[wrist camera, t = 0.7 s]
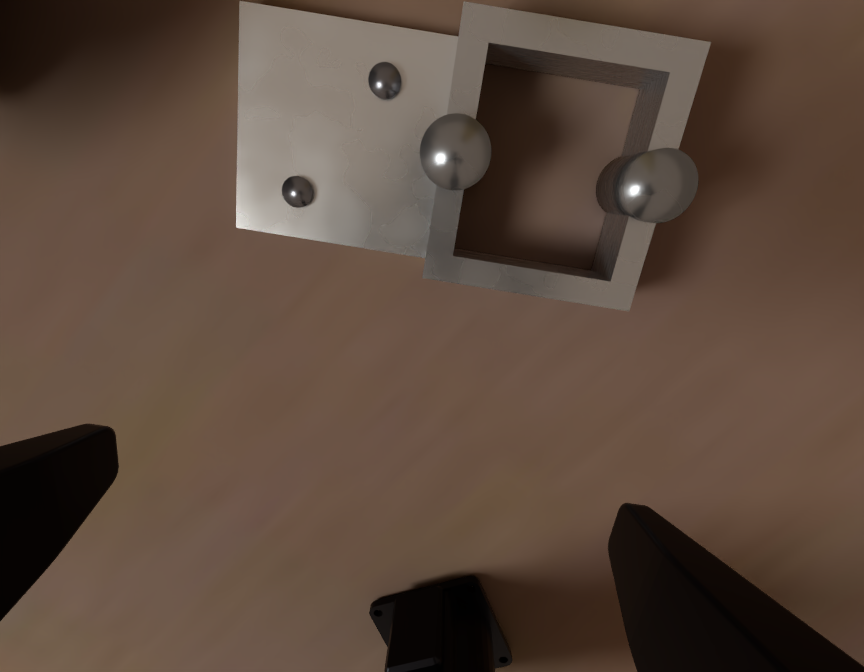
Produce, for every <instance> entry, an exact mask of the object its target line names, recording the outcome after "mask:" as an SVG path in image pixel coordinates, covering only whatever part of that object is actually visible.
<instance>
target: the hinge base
mask: <svg viewBox="0 0 864 672" xmlns="http://www.w3.org/2000/svg"><path fill="white" fill-rule="evenodd" d="M710 44H711V42H707V41H701V40H695V39H689V38H683V37H677V36H671V35H665V34H659V33H653V32H647V31H641V30H634V29H628V28H622V27H616V26H610V25H604V24H598V23H592V22H586V21H580V20H574V19H567V18H561V17H555V16H549V15H543V14H537V13H531V12H525V11H519V10H513V9H507V8H501V7H494V6H488V5H482V4H476V3H470V2H464V3H463V10H462V16H461V23H460V30H459V37H458V36H452V35H445V34H439V33H433V32H427V31H421V30H415V29H409V28H403V27H397V26H391V25H385V24H378V23H372V22H366V21H360V20H354V19H348V18H342V17H336V16H330V15H324V14H317V13H311V12H305V11H299V10H293V9H287V8H281V7H275V6H269V5H263V4H257V3H250V2H244V1H240V3H239V70H238V137H237V204H236V228H243V229H249V230H255V231H261V232H267V233H273V234H280V235H286V236H292V237H298V238H304V239H310V240H317V241H323V242H329V243H335V244H341V245H347V246H353V247H360V248H366V249H372V250H378V251H384V252H390V253H397V254H403V255H409V256H415V257H421V258H425V264H424V271H423V278H426V279H433V280H439V281H445V282H451V283H457V284H463V285H470V286H476V287H482V288H488V289H494V290H500V291H507V292H513V293H519V294H525V295H531V296H537V297H544V298H550V299H556V300H562V301H568V302H574V303H581V304H587V305H593V306H599V307H605V308H611V309H618V310H624V311H629V310H630V307H631V303H632V300H633V297H634V294H635V290H636V287H637V284H638V280H639V277H640V274H641V271H642V267H643V264H644V261H645V257H646V254H647V251H648V248H649V244H650V241H651V238H652V235H653V231H654V228H655V225H656V223H662V222H666V221H670V220H672V219H674V218H676V217H677V216H679V215H680V214H682V213H683V212H684V211H685V210H686V209H687V208H688V207H689V205H690V204H691V202H692V201H693V199H694V197H695V194H696V192H697V188H698V172H697V168H696V166H695V164H694V162H693V160H692V159H691V158H690V157H689V156H688V155H687V154H686V153H684V152H682V151H680V150H678V149H679V146H680V143H681V139H682V136H683V133H684V130H685V126H686V123H687V120H688V116H689V113H690V110H691V107H692V103H693V100H694V97H695V93H696V90H697V87H698V84H699V80H700V77H701V74H702V71H703V67H704V64H705V61H706V57H707V54H708V51H709V48H710ZM485 64H491V65H497V66H504V67H510V68H516V69H522V70H528V71H534V72H540V73H546V74H552V75H559V76H565V77H571V78H577V79H583V80H589V81H595V82H601V83H607V84H613V85H620V86H626V87H632V88H638V89H640V90H639V94H638V98H637V101H636V105H635V109H634V113H633V116H632V120H631V124H630V128H629V131H628V135H627V139H626V142H625V146H624V150H623V154H622V157H619V158H616V159H614V160H613V161H611V162H610V163H609V164H608V165H607V166H606V167H605V168H604V169H603V170H602V172H601V174H600V176H599V178H598V181H597V185H596V196H597V200H598V203H599V205H600V206H601V208H602V209H603V210H604V211H605V212H606V217H605V221H604V224H603V228H602V232H601V235H600V239H599V243H598V247H597V250H596V254H595V258H594V261H593V265H592V269H591V270H586V269H580V268H574V267H567V266H561V265H555V264H549V263H543V262H537V261H531V260H524V259H518V258H512V257H506V256H500V255H494V254H487V253H481V252H475V251H469V250H463V249H457V248H454V246H455V240H456V234H457V228H458V222H459V216H460V210H461V204H462V198H463V192H464V189H466V188H469V187H471V186H472V185H474V184H475V183H477V182H478V181H479V180H480V179H481V178H482V177H483V175H484V174H485V172H486V171H487V169H488V166H489V164H490V160H491V143H490V139H489V136H488V134H487V132H486V130H485V129H484V127H483V126H482V125H481V124H480V123H479V122H478V121H477V120H476V115H477V109H478V103H479V97H480V91H481V85H482V79H483V73H484V67H485Z"/></svg>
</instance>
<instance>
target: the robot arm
mask: <svg viewBox="0 0 864 672" xmlns="http://www.w3.org/2000/svg"><path fill="white" fill-rule="evenodd" d="M118 468H119V464H118V454H117V443H116V435H115V432H114V430H113V429H112V428H110V427H108V426H102V425H95V424H82V425H79V426H75V427H71V428H67V429H64V430H60V431H56V432H52V433H49V434H45V435H41V436H37V437H34V438H30V439H26V440H22V441H18V442H15V443H11V444H7V445H3V446H0V621H1V620H2V619H3V618H4V617H5V615H6V614H7V613H8V612H9V611H10V610H11V609H12V608H13V607H14V605H15V604H16V603H17V602H18V601H19V600H20V599H21V598H22V596H23V595H24V594H25V593H26V592H27V591H28V590H29V589H30V587H31V586H32V585H33V584H34V583H35V582H36V581H37V580H38V579H39V577H40V576H41V575H42V574H43V573H44V572H45V570H46V569H47V568H48V567H49V566H50V565H51V563H52V562H53V561H54V560H55V559H56V557H57V556H58V555H59V554H60V552H61V551H62V550H63V548H64V547H65V546H66V545H67V543H68V542H69V541H70V539H71V538H72V537H73V535H74V534H75V533H76V531H77V530H78V529H79V527H80V526H81V525H82V523H83V522H84V521H85V519H86V518H87V517H88V515H89V514H90V513H91V511H92V510H93V509H94V507H95V506H96V505H97V503H98V502H99V501H100V499H101V498H102V497H103V495H104V494H105V493H106V491H107V490H108V489H109V487H110V486H111V485H112V483H113V482H114V480H115V478H116V476H117V473H118ZM608 553H609V558H610V563H611V567H612V572H613V576H614V581H615V585H616V590H617V594H618V599H619V603H620V608H621V612H622V617H623V621H624V626H625V630H626V634H627V638H628V642H629V646H630V650H631V653H632V656H633V659H634V663H635V666H636V669H637V672H864V666H862V665H861V664H860V663H858V662H857V661H856V660H854V659H853V658H852V657H850V656H849V655H848V654H846V653H845V652H843V651H842V650H841V649H839V648H838V647H837V646H835V645H834V644H833V643H831V642H830V641H829V640H827V639H826V638H825V637H823V636H822V635H821V634H819V633H818V632H817V631H815V630H814V629H812V628H811V627H810V626H808V625H807V624H806V623H804V622H803V621H802V620H800V619H799V618H798V617H796V616H795V615H794V614H792V613H791V612H790V611H788V610H787V609H786V608H784V607H783V606H781V605H780V604H779V603H777V602H776V601H775V600H773V599H772V598H771V597H769V596H768V595H767V594H765V593H764V592H763V591H761V590H760V589H759V588H757V587H756V586H755V585H753V584H752V583H750V582H749V581H748V580H746V579H745V578H744V577H742V576H741V575H740V574H738V573H737V572H736V571H734V570H733V569H732V568H730V567H729V566H728V565H726V564H725V563H724V562H722V561H721V560H720V559H718V558H717V557H715V556H714V555H713V554H711V553H710V552H709V551H707V550H706V549H705V548H703V547H702V546H701V545H699V544H698V543H697V542H695V541H694V540H693V539H691V538H690V537H689V536H687V535H686V534H685V533H683V532H682V531H680V530H679V529H678V528H676V527H675V526H674V525H672V524H671V523H670V522H668V521H667V520H666V519H664V518H663V517H662V516H660V515H659V514H658V513H656V512H655V511H654V510H652V509H651V508H649V507H648V506H645V505H638V504H631V503H625V504H623V505H621V507H620V508H619V510H618V513H617V517H616V520H615V523H614V526H613V529H612V532H611V535H610V538H609V543H608ZM469 586H473V587H469ZM369 614H370V616H371V618H372V620H373V622H374V623H375V625H376V627H377V629H378V631H379V632H380V634H381V636H382V638H383V640H384V641H385V643H386V645H387V647H388V649H387V656H386V663H385V672H495V668H499V667H504V666H507V665H510V664H511V662H512V655H511V650H510V648H509V646H508V643H507V641H506V639H505V637H504V635H503V632H502V630H501V628H500V626H499V623H498V621H497V619H496V617H495V614H494V612H493V610H492V608H491V606H490V603H489V601H488V599H487V597H486V594H485V592H484V590H483V588H482V585H481V583H480V581H479V580H478V578H476V577H473V576H467V577H464V578H460V579H456V580H452V581H448V582H444V583H441V584H437V585H433V586H429V587H425V588H422V589H418V590H414V591H410V592H406V593H403V594H399V595H395V596H391V597H387V598H383V599H380V600H376V601H374V602H372V604H371V607H370V612H369Z"/></svg>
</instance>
